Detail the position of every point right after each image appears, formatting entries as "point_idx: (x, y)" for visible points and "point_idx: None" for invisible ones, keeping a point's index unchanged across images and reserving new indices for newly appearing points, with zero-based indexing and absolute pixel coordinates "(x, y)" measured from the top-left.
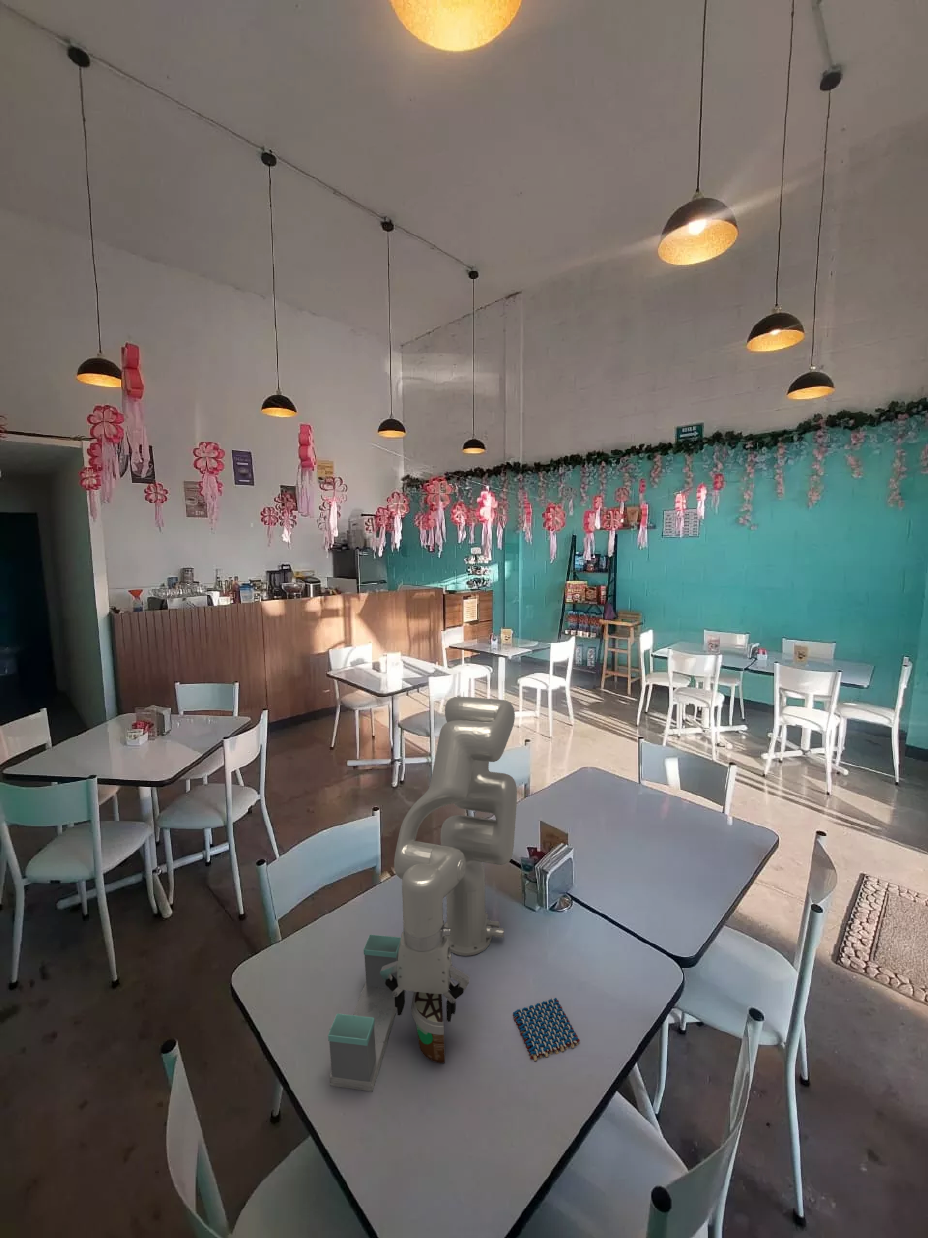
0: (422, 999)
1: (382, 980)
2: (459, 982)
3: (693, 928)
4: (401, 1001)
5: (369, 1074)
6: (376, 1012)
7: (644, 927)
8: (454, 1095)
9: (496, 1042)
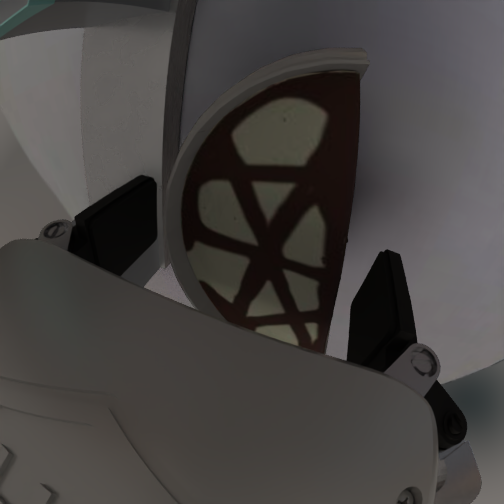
0: (223, 241)
1: (105, 17)
2: (443, 442)
3: None
4: (121, 263)
5: (151, 272)
6: (122, 100)
7: None
8: (348, 301)
9: (485, 222)
